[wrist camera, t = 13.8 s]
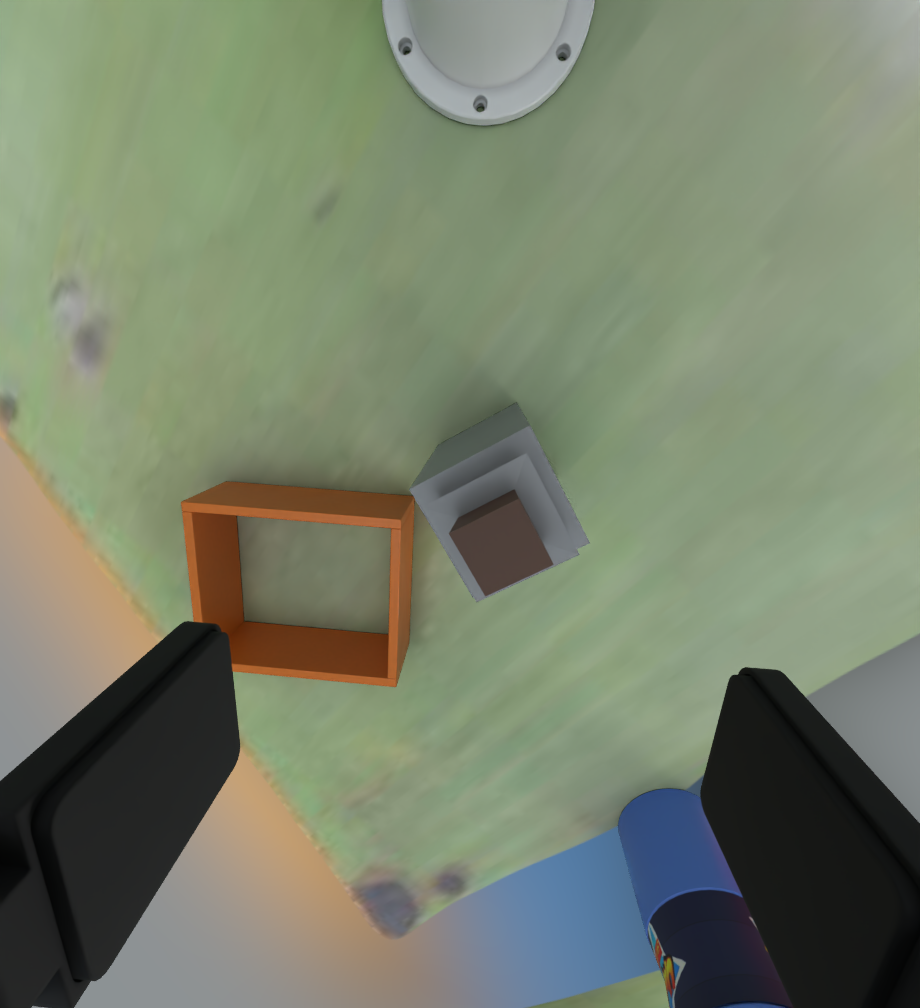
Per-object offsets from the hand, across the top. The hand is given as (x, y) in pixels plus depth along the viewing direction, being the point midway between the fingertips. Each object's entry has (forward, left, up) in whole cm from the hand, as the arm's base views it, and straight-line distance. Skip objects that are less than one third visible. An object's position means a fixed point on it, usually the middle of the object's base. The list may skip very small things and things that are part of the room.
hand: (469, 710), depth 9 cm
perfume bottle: (+1, +1, -30) cm, 30 cm away
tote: (+11, -13, -29) cm, 34 cm away
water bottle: (+35, +20, -30) cm, 50 cm away
